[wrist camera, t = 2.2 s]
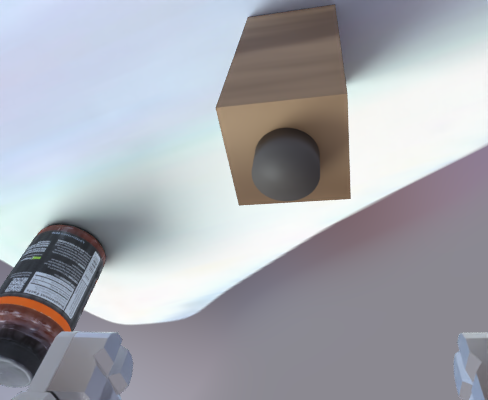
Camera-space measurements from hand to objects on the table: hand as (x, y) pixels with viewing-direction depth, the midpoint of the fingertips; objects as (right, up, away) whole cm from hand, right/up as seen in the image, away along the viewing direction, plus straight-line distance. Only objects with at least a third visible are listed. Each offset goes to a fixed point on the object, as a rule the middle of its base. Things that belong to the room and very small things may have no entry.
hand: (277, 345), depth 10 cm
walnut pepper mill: (+2, +12, +13) cm, 18 cm away
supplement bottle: (-15, 0, +26) cm, 30 cm away
